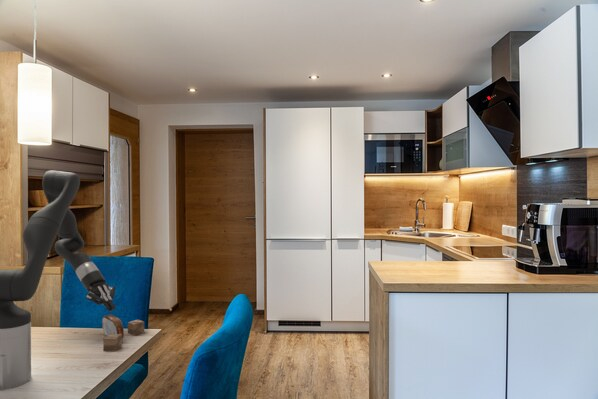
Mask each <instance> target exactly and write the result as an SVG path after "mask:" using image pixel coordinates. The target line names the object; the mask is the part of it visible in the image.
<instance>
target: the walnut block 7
mask: <svg viewBox="0 0 598 399" xmlns="http://www.w3.org/2000/svg"><path fill="white" fill-rule="evenodd" d="M127 333H128V335H132V336H138V335H141V334H144V333H145V321H143V320H140V319H135V320H131V321H127Z"/></svg>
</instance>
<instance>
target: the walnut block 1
mask: <svg viewBox="0 0 598 399" xmlns="http://www.w3.org/2000/svg"><path fill="white" fill-rule="evenodd" d="M102 340H103V352H116V350H117V351H118V350H119V349H120V348H122V347H123V339H122V334H109V335H108V336H106V335H105V337H104V338H103V339H102ZM121 346H122V347H121Z"/></svg>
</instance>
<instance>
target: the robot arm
mask: <svg viewBox="0 0 598 399" xmlns="http://www.w3.org/2000/svg"><path fill="white" fill-rule="evenodd" d="M41 183H42V184H41V185H42V190H43V193H44V195H45V199H46V201H47V203H48V204H47V205H45V206H43V207H42V208H40V209H39V210H37V211H35V213H33V214H32V215H31V217H30V218H29V220H28V222H27V223H26V226H25V228H24V230H23V233H22V238H23V243H24V245H25V248H26V250H27V254H28V255H27V256H28V258H27V261H26V264H25V266H24V267H23V269H1V270H0V390H1V391H3V390H6V389H11V388H15V387H19V386H21V385H24V384H26V383H27V382H29V381H30V380H31V379H32V314H31V311H29V310H27V309H24V308H22V307H19V306H18V305H17V304H15V302H26V301H29V300H31V299H32V298H33V297H34V295H35V293H36V292H37V290H38V286H39V284H40V281H41V277H42V276H43V275H42V274H43V271H44V269H45V264H46V262H47V259H48V257H49V254H50V251H51V249H52V248H53V245H54V250H55V252H56V254H57V255H59V257H61V258H63V259H64V260H65V261H66V262H68V264H69V266H71V267H72V269H73V270H74V272H75V274H76V276H77V278H78V279H79V281H80V282H81V284H82V285H83V287H84V288H85V291H87V292H88V294H87V295H86V296H85V299H86V300H89V301H90V302H92V303H94V304H97V305H103V306H104V307H105V309H106V310H107V311H108V312H113V311H115V309H116V305H115V303H114V302H113V299H114V298H115V297H116V289H117V288H116V286H113V285H112V286H109V283H106V278H105V277H104V276H103V274H102V272H101V271H100V270H99V268H98V267H97V265H96V264H95V263H94V262H93V261H92V260H91V257H90V256H89V255H88V254H87V253H86V252H82V251H81V250H83V249H84V247H85V241H84V239H83V237H82V236H81V234H80V232H79V230H78V225H77V224H78V223H77V219H76V215H75V214H74V212H73V211H72V210H71V209H70V206H71V205H72V203H73V201H74V199H75V198H76V196H77V194H78V191H79V189H80V184H81V180H80V176H79V175H78V174H77V173H75V172H69V171H63V170H62V171H61V170H47V171H46V172H45V173H44V175H43V178H42V182H41ZM57 236H58V237H59V238H60V239H59V240H57V241H56V242H55V240H56V238H57ZM54 243H55V244H54ZM79 251H81V252H79Z"/></svg>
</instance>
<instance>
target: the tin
mask: <svg viewBox="0 0 598 399" xmlns="http://www.w3.org/2000/svg"><path fill="white" fill-rule="evenodd" d="M101 322H102V323H101V324H102V332H103V333H104V335H105V337H106V336H108V335H109V334H122V340H123V338H124V337H125V336H124V335H125V334H124V333H125V331H124V330H125V329H124V325H123V322H122V321H121V319H120V318H119V317H117V316H115V315H113V314H112V313H110V314H107V315H106V314H105V315H104V316H102V319H101Z"/></svg>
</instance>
